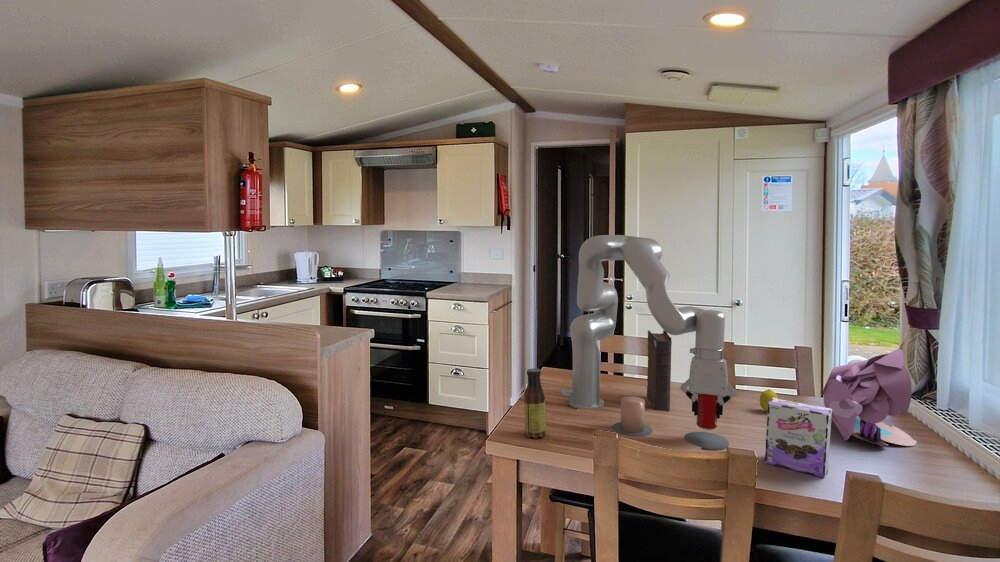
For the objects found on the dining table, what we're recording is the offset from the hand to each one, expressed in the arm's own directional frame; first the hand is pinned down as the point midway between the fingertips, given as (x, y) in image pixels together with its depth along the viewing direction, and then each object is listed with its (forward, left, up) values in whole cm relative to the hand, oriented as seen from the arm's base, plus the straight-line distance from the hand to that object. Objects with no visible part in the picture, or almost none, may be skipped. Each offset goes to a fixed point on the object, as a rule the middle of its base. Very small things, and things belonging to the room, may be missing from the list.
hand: (707, 415), depth 152 cm
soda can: (0, 0, -4) cm, 4 cm away
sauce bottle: (-47, -15, -8) cm, 50 cm away
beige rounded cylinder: (-21, 0, -7) cm, 22 cm away
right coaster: (0, 0, -8) cm, 8 cm away
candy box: (+22, -8, -8) cm, 25 cm away
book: (-17, +28, -8) cm, 34 cm away
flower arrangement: (+46, +26, -8) cm, 53 cm away
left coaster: (-21, 0, -8) cm, 22 cm away
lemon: (+18, +34, -8) cm, 39 cm away
